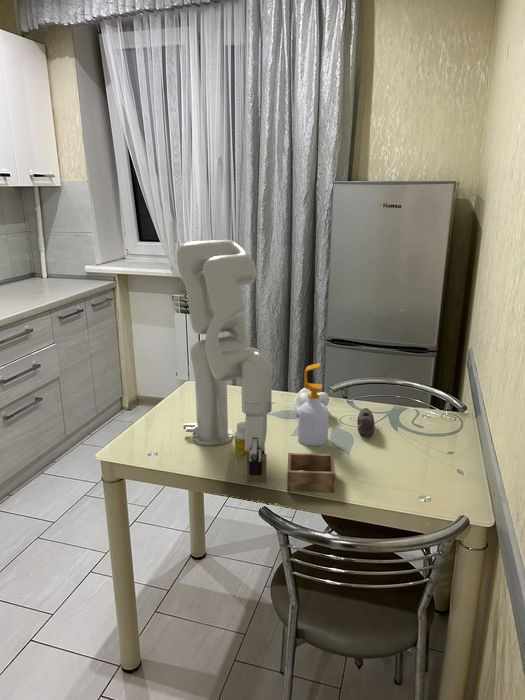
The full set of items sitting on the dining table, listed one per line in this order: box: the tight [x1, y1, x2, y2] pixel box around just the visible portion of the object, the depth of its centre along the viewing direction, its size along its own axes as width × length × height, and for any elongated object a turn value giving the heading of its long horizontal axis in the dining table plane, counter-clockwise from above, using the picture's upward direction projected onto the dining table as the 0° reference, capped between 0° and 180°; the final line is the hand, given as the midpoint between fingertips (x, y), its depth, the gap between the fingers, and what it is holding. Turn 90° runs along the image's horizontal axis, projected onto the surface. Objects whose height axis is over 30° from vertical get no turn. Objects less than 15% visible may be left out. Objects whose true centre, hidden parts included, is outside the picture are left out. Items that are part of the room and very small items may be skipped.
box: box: [286, 452, 336, 494], centre depth 138 cm, size 12×10×6 cm
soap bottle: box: [297, 362, 330, 447], centre depth 159 cm, size 9×9×25 cm
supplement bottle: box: [234, 421, 250, 459], centre depth 152 cm, size 5×5×10 cm
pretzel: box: [293, 387, 330, 417], centre depth 179 cm, size 11×12×9 cm
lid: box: [245, 453, 267, 484], centre depth 139 cm, size 13×11×8 cm
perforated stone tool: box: [357, 407, 375, 439], centre depth 168 cm, size 15×5×7 cm, turn 170°
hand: (257, 465), depth 138 cm, fingers open, 9 cm apart
